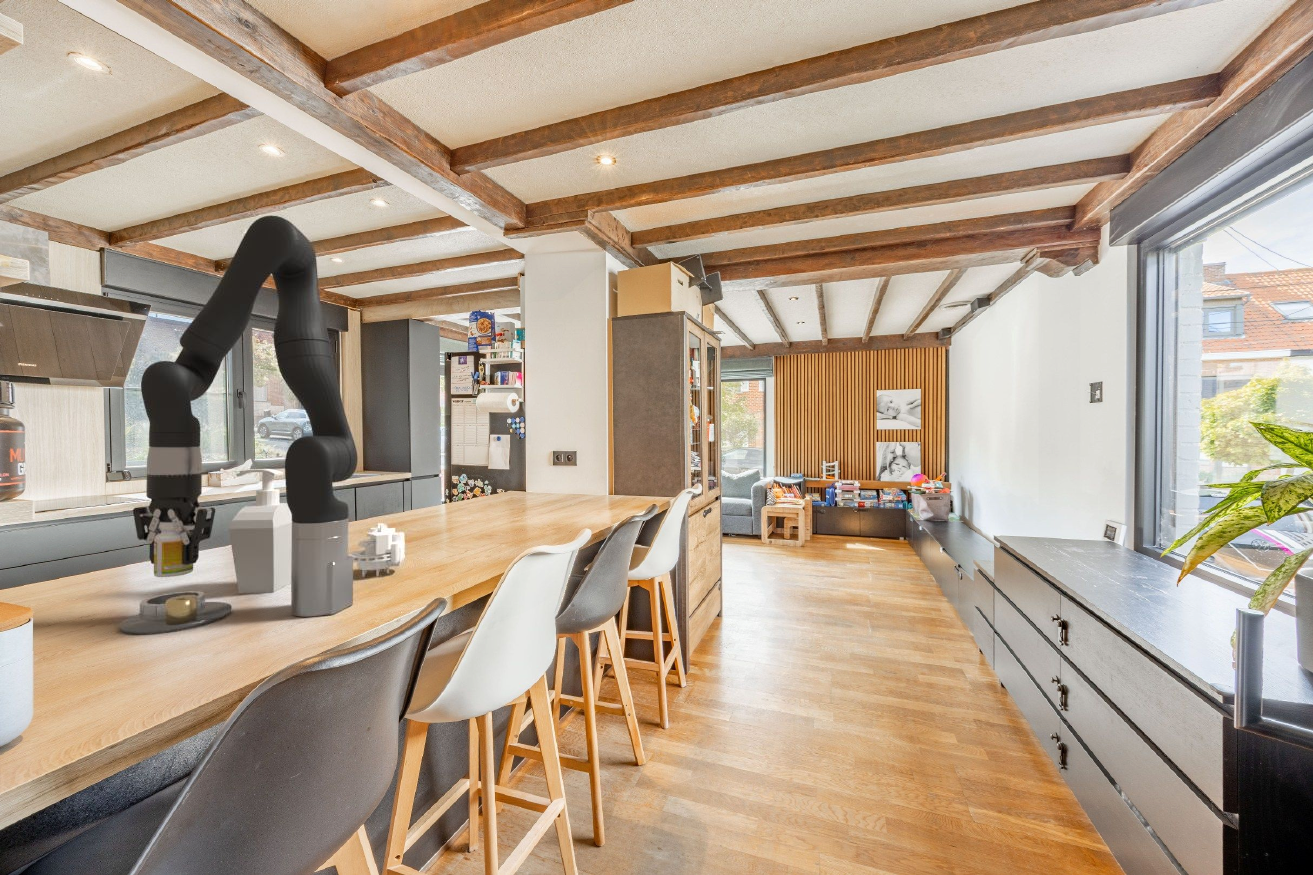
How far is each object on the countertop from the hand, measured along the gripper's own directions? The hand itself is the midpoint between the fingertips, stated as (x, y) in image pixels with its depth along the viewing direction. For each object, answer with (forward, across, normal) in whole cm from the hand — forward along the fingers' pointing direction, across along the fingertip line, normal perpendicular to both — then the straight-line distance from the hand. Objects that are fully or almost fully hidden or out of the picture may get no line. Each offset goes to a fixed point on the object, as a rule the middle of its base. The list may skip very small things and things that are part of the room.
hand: (173, 562), depth 98 cm
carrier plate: (+10, -3, +2) cm, 10 cm away
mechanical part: (+10, -20, -31) cm, 38 cm away
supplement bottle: (+2, 0, 0) cm, 2 cm away
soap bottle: (+10, -2, -18) cm, 21 cm away
